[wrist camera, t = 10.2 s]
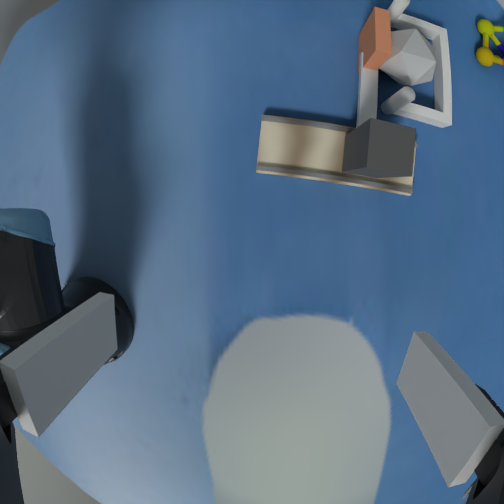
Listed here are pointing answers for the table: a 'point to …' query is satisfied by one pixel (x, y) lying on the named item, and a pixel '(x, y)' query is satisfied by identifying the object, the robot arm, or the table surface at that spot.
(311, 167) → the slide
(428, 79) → the die
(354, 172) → the rod
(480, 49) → the molecular model
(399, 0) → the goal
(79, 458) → the table surface
